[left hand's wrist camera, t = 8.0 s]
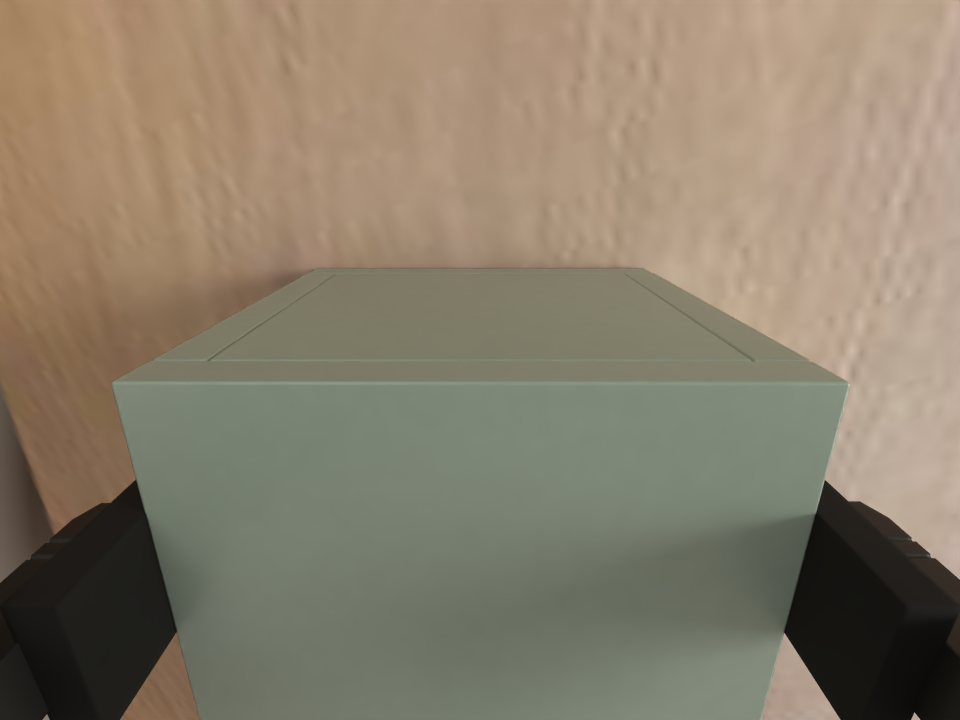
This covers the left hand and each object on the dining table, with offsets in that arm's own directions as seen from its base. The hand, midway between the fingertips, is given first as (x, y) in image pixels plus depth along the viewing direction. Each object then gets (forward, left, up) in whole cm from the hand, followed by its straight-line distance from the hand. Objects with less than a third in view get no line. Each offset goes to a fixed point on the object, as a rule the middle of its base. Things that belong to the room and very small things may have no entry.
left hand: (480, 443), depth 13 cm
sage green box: (+5, +1, -6) cm, 8 cm away
